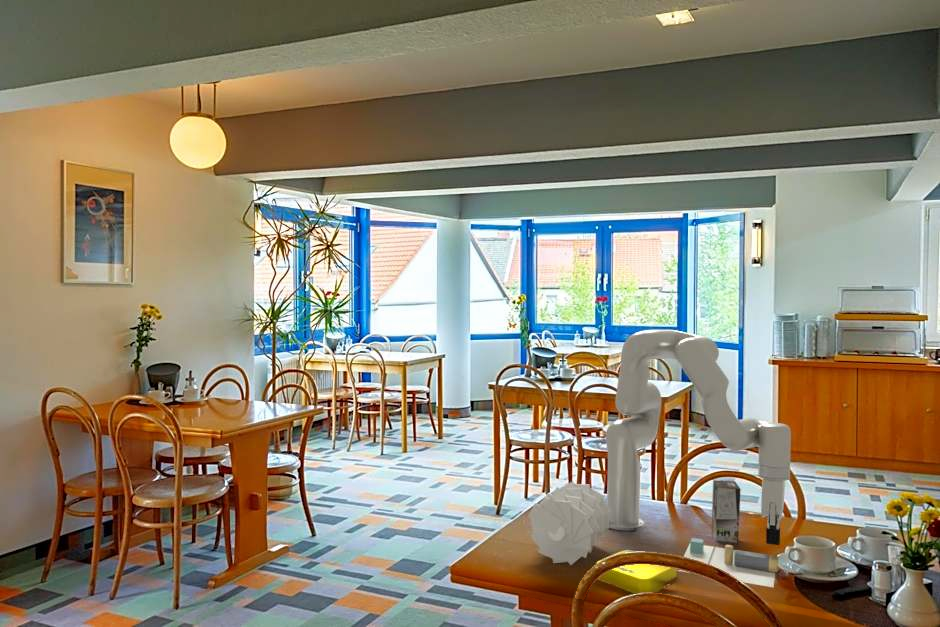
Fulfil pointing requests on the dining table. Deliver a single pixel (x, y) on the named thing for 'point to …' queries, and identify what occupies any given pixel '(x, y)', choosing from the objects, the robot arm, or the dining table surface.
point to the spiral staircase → (569, 522)
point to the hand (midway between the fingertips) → (772, 543)
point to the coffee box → (725, 511)
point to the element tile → (639, 576)
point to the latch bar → (756, 561)
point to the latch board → (733, 568)
